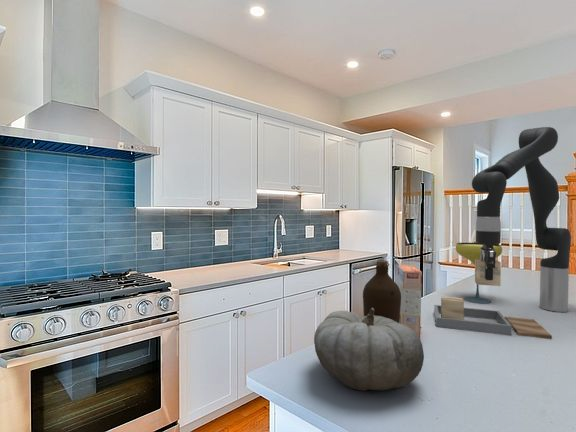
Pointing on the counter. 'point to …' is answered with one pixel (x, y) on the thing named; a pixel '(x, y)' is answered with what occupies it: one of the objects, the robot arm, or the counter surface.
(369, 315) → the gourd
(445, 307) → the plain box
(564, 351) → the counter surface
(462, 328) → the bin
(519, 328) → the board
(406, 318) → the cracker box
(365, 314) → the olive oil
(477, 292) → the cocktail glass
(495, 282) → the tan box
